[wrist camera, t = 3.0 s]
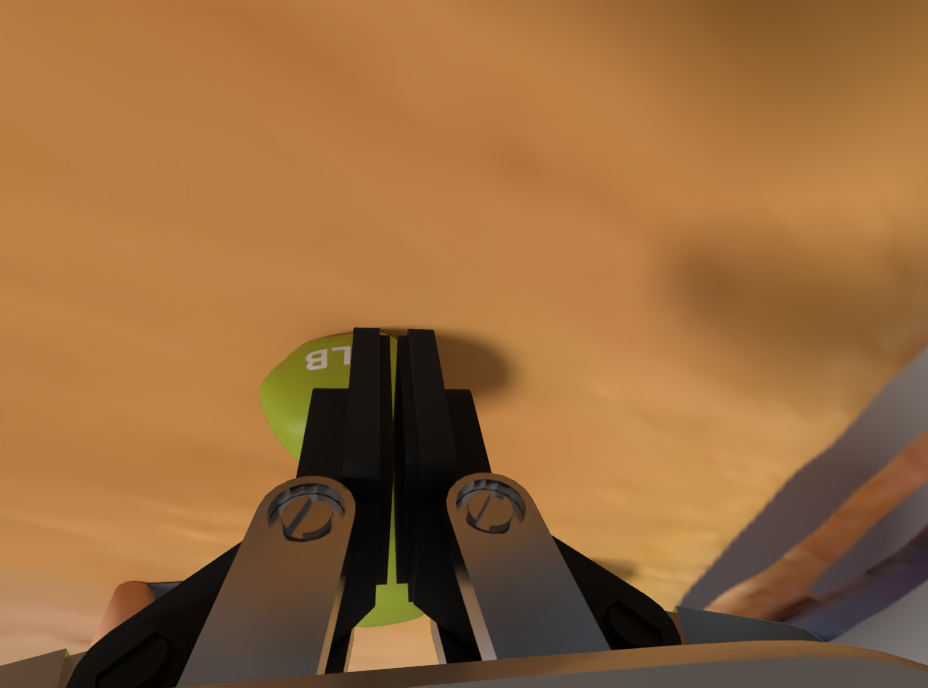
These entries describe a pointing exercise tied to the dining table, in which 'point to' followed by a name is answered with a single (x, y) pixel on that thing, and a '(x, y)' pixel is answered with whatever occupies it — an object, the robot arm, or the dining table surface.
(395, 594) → the dumbbell
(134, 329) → the dining table surface
